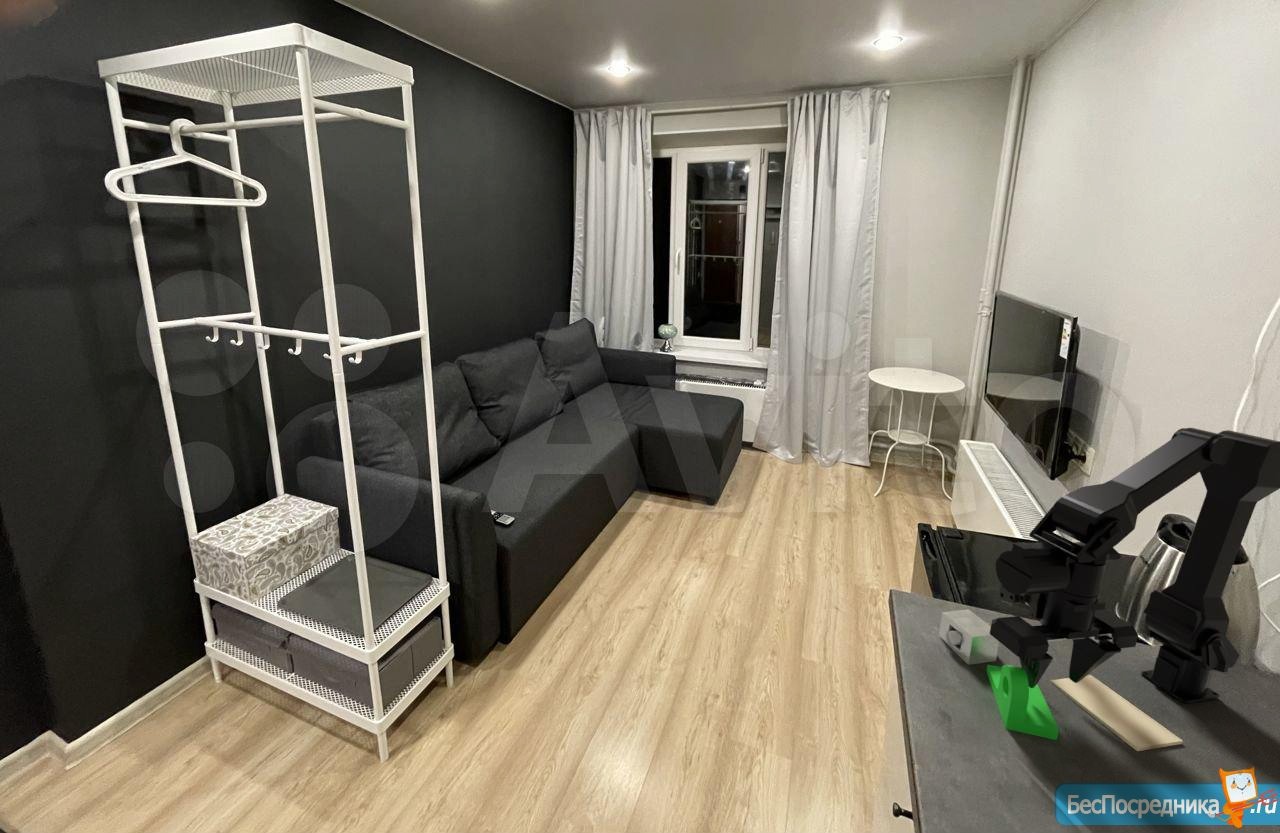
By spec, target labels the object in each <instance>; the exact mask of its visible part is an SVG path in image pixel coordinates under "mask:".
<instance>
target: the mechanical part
mask: <svg viewBox="0 0 1280 833" xmlns="http://www.w3.org/2000/svg"><path fill="white" fill-rule="evenodd" d="M986 674H987V677H988V680H989V683H990V686H991V689H992V690H991V691H992V692H993V695H994V699H995V701H996V705H997V707H998V710H999V714H1000V717H1001V719H1002V722H1003V725H1004V728H1005V729H1006V730H1011V731H1014V732H1020V733H1024V734H1027V735H1032V736H1037V737H1042V738H1045V739H1049V740H1055V741H1058V736H1059V732H1060V728H1059V727H1058V725H1057V723H1056V722H1057V721H1056V720H1055V718H1054V716H1053V715H1052V712H1051V710H1050V707H1049V706H1048V703H1047V701H1046V699H1045V698H1044V695H1043V693H1042V691H1041V689H1040V687H1039V685H1038V684H1037V685H1036V686H1035V687H1034V688H1030V687H1029V684H1028V678H1027V674H1026V671H1025V670H1024V668H1022V667H1020V666H1015V665H1010V664H1004V665H1003V666H1002V667H1001V666H998V665H991V664H987V667H986Z"/></svg>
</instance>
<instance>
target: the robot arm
mask: <svg viewBox="0 0 1280 833" xmlns="http://www.w3.org/2000/svg"><path fill="white" fill-rule="evenodd" d="M1197 474H1200V476H1201V479H1202V482H1203V485H1204V487H1205V490H1206V493H1205V496H1204V499H1203V503H1202V504H1201V506H1200V507H1201V508H1200V510H1199V513H1198V516H1197V519H1196V521H1195V525H1194V527H1193V530H1192V532H1191V536H1190V538H1189V541H1188V545H1187V547H1186V550H1185V552H1184V555H1183V558H1182V561H1181V563H1180V567H1179V570H1178V572H1177V574H1176V578H1175V580H1174V582H1173V583H1171V584H1170V585H1169V586H1167V587H1165V588H1163V589H1161V590H1157V589H1154V590H1153V591H1151V593H1150V594H1149V600H1148V603H1147V606H1146V607H1145V609H1143V614H1144V624H1145V627H1146V628H1145V629H1146V635H1147V637H1149V638H1151V639H1154V640H1155V641H1157V642H1158V643H1160V644H1161V645H1160V646H1159V650H1158V653H1157V656H1156V657H1155V662H1154V665H1153V669H1149V670H1143V671H1141V673H1140V674H1141V676H1142V677H1143V678H1145V679H1147V680H1148V681H1149V682H1151V683H1153V684H1154V685H1156V686H1157V687H1159V688H1160V689H1162V690H1164V691H1165V692H1167V693H1168V694H1169V695H1171V696H1172V697H1174V698H1176V699H1177V700H1179V701H1180V702H1182V703H1184V704H1189V703H1190V704H1191V703H1198V702H1203V701H1208V700H1209V701H1211V700H1217V699H1220V693H1218V692H1216V691H1215V690H1213V689H1211V688H1209V686H1210V685H1209V684H1210V682H1211V679H1212V674H1213V672H1214V671H1216V672H1220V673H1227V672H1228V671H1229V669H1230V668H1233V667H1234V666H1235V665H1236V663H1237V661H1238V659H1239V657H1240V653H1239V652H1238V651H1237V649H1236V648H1235V647H1234V645H1233V644H1232V643H1231V641H1230V640H1229V638H1227V633H1228V629H1229V625H1230V617H1229V615H1228V613H1227V609H1226V606H1225V605H1224V602H1223V599H1222V596H1223V593H1224V590H1225V587H1226V585H1227V582H1228V580H1229V576H1230V575H1231V571H1232V568H1233V565H1234V564H1235V562H1236V559H1237V555H1238V553H1239V550H1240V548H1241V545H1242V542H1243V539H1244V536H1246V535H1245V534H1246V531H1247V529H1248V526H1249V524H1250V521H1251V519H1252V516H1253V513H1254V511H1255V508H1256V506H1257V504H1258V502H1260V501H1261V500H1263V499H1265V498H1266V497H1268V496H1270V495H1271V494H1273V493H1275V492H1277V491H1279V490H1280V441H1279V440H1275V439H1271V438H1270V439H1269V438H1265V437H1260V436H1255V435H1252V434H1247V433H1243V432H1239V431H1238V432H1237V431H1233V430H1227V429H1226V430H1222V431H1220V432H1218V433H1216V432H1213V431H1207V430H1203V429H1199V428H1194V427H1186V428H1183V427H1182V428H1179V429H1177V431H1175V432H1174V433H1173V435H1172V437H1171V438H1170V440H1169V441H1167V442H1166V443H1164V444H1163V445H1160V446H1159V447H1157V449H1155V450H1154V451H1152V452H1150V453H1149V454H1147V455H1146V456H1145V457H1142V459H1140V460H1139V461H1137V462H1135V463H1134V464H1132V465H1131V466H1130V467H1128V468H1126V469H1125V470H1124V471H1122V472H1120V473H1119V474H1117V475H1115V477H1113V478H1111V479H1110V480H1108V481H1105V482H1104V483H1099V484H1092V485H1086V486H1085V485H1084V486H1081V487H1079V488H1077V489H1076V490H1073V491H1071V492H1069V493H1066V494H1064V495H1063V496H1061V497H1060V498H1059V499H1058V500H1056V501H1055V503H1054V504H1053V506H1052V507H1051V508H1050V509H1049V510H1048V511H1047V513H1046V514H1044V516H1043V517H1042V519H1040V521H1038V523H1037V524H1036V525H1035V527H1034V528H1033V529H1032V530H1031V531H1030V533H1029V534H1028V536H1029V537H1030V538H1032V539H1033V540H1035V542H1019V541H1017V542H1014V543H1013V544H1012V546H1011V548H1012V549H1011V550H1006V551H1004V552H1002V553H1001V554H1000V555H999V557H998V558H997V559H996V561H995V572H996V577H997V579H998V581H999V583H1000V586H999V590H998V592H999V593H998V594H999V598H1000V600H1001V602H1003V603H1007V604H1008V605H1009V606H1010V607H1013V608H1015V607H1017V608H1021V609H1025V610H1028V612H1027V614H1028V615H1029V616H1030V617H1032V618H1033V619H1034V620H1039V624H1040V625H1032V624H1031V623H1029V622H1028V621H1026V620H1025V619H1024V618H1022V617H1021V616H1020V615H1018V616H1017V615H1016V616H1006V617H997V618H994V619H992V620H991V623H990V624H991V628H990V635H992V636H993V637H994V638H995V639H997V640H998V641H999V644H1002V645H1003V646H1004V647H1005V648H1007V649H1008V650H1009V651H1010V652H1012V654H1014V655H1015V656H1016V657H1018V658H1019V662H1020V666H1021V667H1022V668H1024V670H1025V671H1026V674H1027V678H1028V684H1029V687H1030V688H1034V687H1035V686H1036V685H1038V684H1039V682H1040V680H1041V679H1042V677H1043V676H1044V674H1045V672H1046V671H1047V669H1048V668H1049V666H1050V664H1051V663H1052V661H1053V660H1054V657H1053V656H1052V655H1050V654H1049V653H1048V652H1049V648H1050V647H1049V646H1050V644H1049V643H1050V642H1051V643H1052V642H1053V643H1054V642H1061V641H1070V640H1072V650H1071V656H1070V663H1069V669H1068V671H1069V674H1068V678H1070V680H1072V681H1073V682H1074V683H1078V682H1079V681H1081V680H1082V679H1083V678H1084V677H1085V676H1087V675H1090V673H1092V672H1093V671H1094V670H1096V669H1097V668H1098V667H1099V666H1100V665H1102V664H1103V663H1105V662H1106V661H1108V660H1109V659H1110V658H1112V657H1113V656H1114V655H1116V654H1119V653H1121V652H1122V649H1126V648H1127V649H1128V648H1135V647H1136V646H1137V641H1138V638H1139V634H1138V632H1137V629H1136V628H1135V626H1134V625H1133V624H1131V623H1130V622H1128V621H1126V620H1124V618H1121V617H1120V616H1118V615H1116V614H1115V613H1113V612H1111V611H1109V610H1108V609H1106V604H1107V603H1106V602H1105V601H1103V600H1102V599H1100V598H1099V597H1100V592H1101V588H1102V583H1103V578H1104V575H1105V571H1106V568H1107V567H1106V566H1107V562H1108V561H1115V560H1117V561H1118V560H1120V559H1122V555H1121V553H1119V551H1117V550H1116V549H1115V548H1114V547H1116V546H1117V545H1118V544H1119V543H1120V542H1121V541H1123V540H1124V539H1125V538H1127V536H1128V535H1130V534H1131V533H1132V532H1133V531H1134V530H1135V528H1136V525H1137V520H1138V515H1139V514H1140V513H1142V512H1143V511H1144V510H1145V509H1147V508H1148V507H1150V506H1152V505H1153V504H1154V503H1155V502H1157V501H1159V500H1161V498H1163V497H1165V496H1166V495H1168V494H1170V493H1171V492H1172V491H1173V490H1175V489H1176V488H1178V487H1179V486H1181V485H1182V484H1184V483H1186V482H1187V481H1189V480H1190V479H1192V478H1193V477H1195V476H1197ZM1055 531H1057V532H1059V533H1062V534H1064V535H1066V536H1068V537H1070V538H1072V539H1073V540H1076V541H1071V540H1070V539H1067V538H1065V537H1063V536H1061V535H1060V534H1057V533H1055ZM1036 541H1037V542H1036ZM1112 636H1113V637H1112Z"/></svg>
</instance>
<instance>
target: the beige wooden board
mask: <svg viewBox="0 0 1280 833" xmlns="http://www.w3.org/2000/svg"><path fill="white" fill-rule="evenodd" d="M1050 683H1052V684H1053V685H1054V686H1055V687H1056V688H1057V689H1058V690H1060V691H1061V692H1062V693H1063V694H1064V695H1065V696H1066V697H1068V698H1069V699H1070V700H1071V701H1073V702H1074V703H1075V704H1076V705H1077V706H1079V707H1080V708H1082V709H1083V711H1085V712H1086V713H1088V714H1089V715H1090V716H1091V717H1092V718H1094V719H1095V720H1096V721H1098V722H1099V723H1101V724H1102V725H1103V726H1104V727H1105V728H1107V729H1108V730H1109V731H1111V732H1112V733H1113V734H1115V735H1116V736H1117V737H1118V738H1120V739H1121V740H1122V741H1123V742H1125V743H1126V744H1127V745H1128V746H1130V747H1131V748H1132V749H1134V750H1135V751H1137V752H1141V751H1147V750H1152V749H1153V750H1155V749H1160V748H1166V747H1171V746H1178V745H1182V744H1183V742H1184V740H1183V739H1181V738H1180V737H1179V736H1177V735H1176V734H1174V733H1173V732H1172V731H1170V730H1168V729H1167V728H1165V727H1164V726H1163V725H1162V724H1160V723H1159V722H1157V721H1156V720H1155V719H1154V718H1152V717H1150V716H1149V715H1148V714H1146V713H1145V712H1143V711H1142V710H1140V709H1139V708H1138V707H1136V706H1135V705H1133V704H1132V703H1131V702H1129V701H1128V700H1126V699H1125V698H1124V697H1122V696H1121V695H1120V694H1119V693H1116V692H1115V691H1114V690H1112V688H1110V687H1108V686H1107V685H1105V683H1102V681H1100V680H1099V679H1098V678H1096V677H1094V676H1093V675H1091V674H1088V675H1087V676H1085V677H1084V678H1083V679H1082V680H1081V681H1079V682H1078V683H1074V682H1073V681H1072V680H1070V678H1069V677H1065V678H1059V679H1051V680H1050Z"/></svg>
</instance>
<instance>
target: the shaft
mask: <svg viewBox="0 0 1280 833" xmlns="http://www.w3.org/2000/svg"><path fill="white" fill-rule="evenodd" d="M985 622H986V623H987V624H988V625H990V626H991V623H990V622H987V621H985ZM962 637H963V635H962V634H961V633H960V632H958V631H957V630H953V631H947V632H946V639H947V641H948V643H949V644H950V645H960V644H961V643H962Z"/></svg>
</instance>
